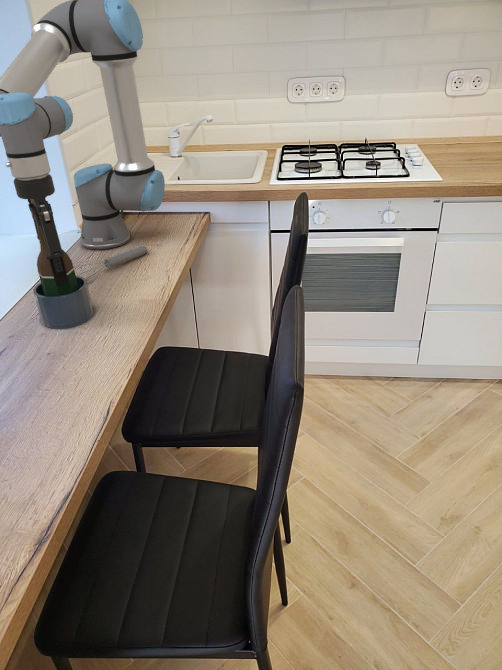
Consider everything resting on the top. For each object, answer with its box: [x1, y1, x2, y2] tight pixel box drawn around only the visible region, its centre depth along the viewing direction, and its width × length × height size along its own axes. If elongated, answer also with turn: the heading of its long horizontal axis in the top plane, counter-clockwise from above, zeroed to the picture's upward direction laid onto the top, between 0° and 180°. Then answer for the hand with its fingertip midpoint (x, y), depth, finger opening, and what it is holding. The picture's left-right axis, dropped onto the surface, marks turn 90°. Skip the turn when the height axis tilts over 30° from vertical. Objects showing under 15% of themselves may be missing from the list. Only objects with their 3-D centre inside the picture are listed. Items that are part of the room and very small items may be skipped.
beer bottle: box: [33, 217, 79, 297], centre depth 118 cm, size 8×8×24 cm
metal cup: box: [32, 275, 94, 330], centre depth 123 cm, size 12×12×8 cm
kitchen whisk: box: [72, 244, 151, 284], centre depth 145 cm, size 6×34×6 cm, turn 146°
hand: (58, 277), depth 119 cm, fingers closed on beer bottle, 7 cm apart
